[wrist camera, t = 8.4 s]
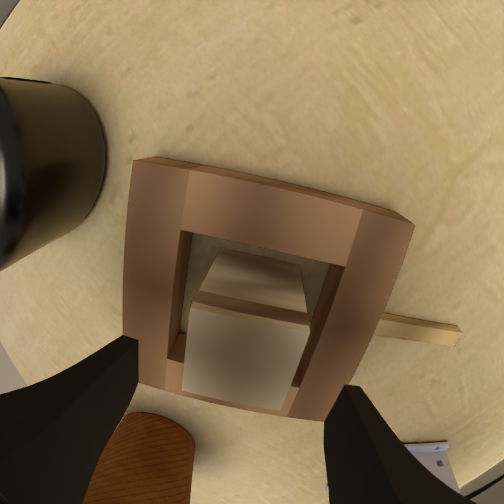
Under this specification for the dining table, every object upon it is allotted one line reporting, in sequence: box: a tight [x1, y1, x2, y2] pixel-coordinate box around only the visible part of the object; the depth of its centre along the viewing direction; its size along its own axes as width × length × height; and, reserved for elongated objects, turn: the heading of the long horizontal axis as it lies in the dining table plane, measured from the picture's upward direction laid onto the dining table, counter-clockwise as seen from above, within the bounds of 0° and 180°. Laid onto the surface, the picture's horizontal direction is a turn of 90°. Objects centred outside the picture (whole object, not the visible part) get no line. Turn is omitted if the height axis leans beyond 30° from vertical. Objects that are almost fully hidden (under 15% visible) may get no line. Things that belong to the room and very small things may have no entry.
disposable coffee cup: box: [83, 413, 195, 504], centre depth 16 cm, size 10×10×12 cm
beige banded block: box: [182, 248, 311, 411], centre depth 14 cm, size 4×4×6 cm
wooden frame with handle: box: [123, 157, 462, 422], centre depth 15 cm, size 19×12×2 cm, turn 78°
